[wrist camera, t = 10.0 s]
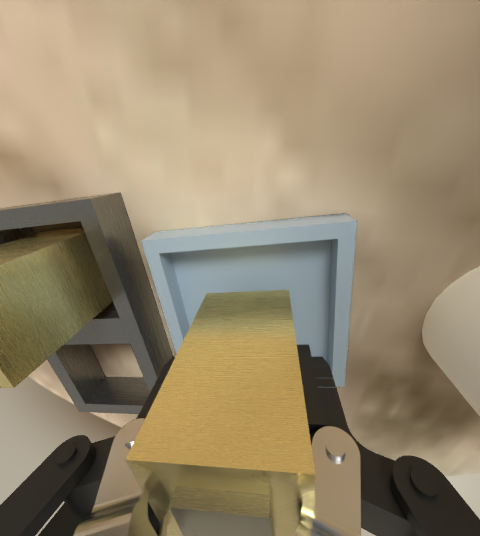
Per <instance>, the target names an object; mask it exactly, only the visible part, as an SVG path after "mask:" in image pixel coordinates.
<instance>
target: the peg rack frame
mask: <svg viewBox="0 0 480 536" xmlns="http://www.w3.org/2000/svg"><path fill="white" fill-rule="evenodd" d="M78 221H81V224H82V226H83V229H84V231H85V234H86V236H87V239H88V241H89V244H90V246H91V249H92V251H93V253H94V256H95V258H96V261H97V263H98V266H99V268H100V271H101V273H102V276H103V278H104V281H105V283H106V285H107V288H108V290H109V293H110V295H111V298H112V300H113V301H112V302H111V303H110V304H109V305H108V306H107V307H106V308H104V309H103V310H102V311H101V312H100V313H99V314H98V315H96V316H95V317H94V318H93V319H92V320H91V321H90V322H89V323H87V324H86V325H85V326H84V327H83V328H82V329H81V330H79V331H78V332H77V333H76V334H75V335H74V336H73V337H71V338H70V339H69V340H68V341H67V342H66V343H65V344H64V345H62V346H61V347H60V348H59V349H58V350H57V351H56V352H54V353H53V354H52V355H51V356H50V357H49V358H48V359H47V360H48V361H49V363H50V365H51V366H52V368H53V369H54V371H55V373H56V374H57V376H58V378H59V379H60V381H61V383H62V384H63V386H64V387H65V389H66V391H67V392H68V394H69V396H70V397H71V399H72V401H73V402H74V404H75V406H76V407H77V409H78V410H79V412H99V413H125V414H139V413H140V411H141V409H142V407H143V405H144V403H145V402H146V400H147V398H148V396H149V394H150V392H151V390H152V388H153V386H154V385H155V382H156V380H157V379H158V377H159V376H160V373H161V371H162V369H163V367H164V365H165V364H166V363H167V362H168V361H169V360H170V359H171V358H172V357H173V355H172V352H171V349H170V346H169V343H168V339H167V336H166V333H165V330H164V327H163V324H162V321H161V318H160V314H159V311H158V308H157V305H156V302H155V299H154V296H153V293H152V290H151V286H150V283H149V280H148V277H147V274H146V271H145V268H144V265H143V261H142V258H141V255H140V252H139V249H138V246H137V243H136V240H135V236H134V233H133V230H132V227H131V224H130V221H129V218H128V215H127V211H126V208H125V205H124V202H123V199H122V196H121V193H113V194H105V195H98V196H90V197H83V198H75V199H68V200H60V201H53V202H45V203H37V204H30V205H22V206H15V207H7V208H1V209H0V245H1V244H4V243H8V242H11V241H14V240H18V239H21V238H24V237H27V236H31V235H34V232H33V230H32V228H31V227H33V226H42V225H51V224H60V223H69V222H78ZM89 344H130V345H131V347H132V350H133V352H134V354H135V357H136V359H137V362H138V364H139V367H140V369H141V372H142V374H143V377H144V378H126V377H105V375H104V373H103V371H102V369H101V367H100V365H99V363H98V361H97V359H96V357H95V355H94V353H93V351H92V349H91V347H90V345H89Z"/></svg>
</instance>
